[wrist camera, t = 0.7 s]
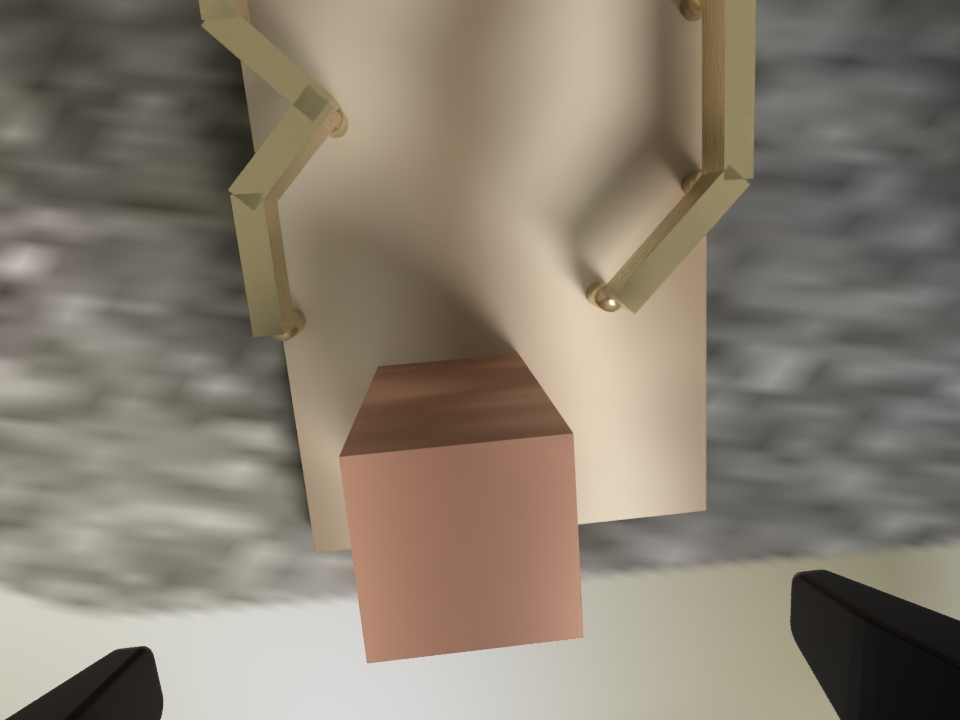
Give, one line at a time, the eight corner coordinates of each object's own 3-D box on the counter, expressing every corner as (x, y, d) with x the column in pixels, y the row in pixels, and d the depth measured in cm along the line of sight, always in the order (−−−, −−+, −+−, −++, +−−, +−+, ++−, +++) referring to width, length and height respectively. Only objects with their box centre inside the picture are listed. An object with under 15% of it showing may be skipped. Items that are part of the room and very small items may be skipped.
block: (518, 353, 17) (573, 433, 10) (527, 483, 18) (583, 637, 11) (377, 366, 17) (338, 457, 10) (393, 497, 18) (367, 663, 11)
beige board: (688, -425, 14) (712, -489, 13) (692, 496, 20) (710, 514, 18) (180, -414, 14) (154, -479, 13) (321, 536, 19) (313, 558, 18)
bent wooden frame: (706, -133, 15) (759, -205, 12) (706, 296, 17) (751, 307, 15) (213, -108, 14) (168, -179, 12) (280, 334, 17) (254, 352, 14)
